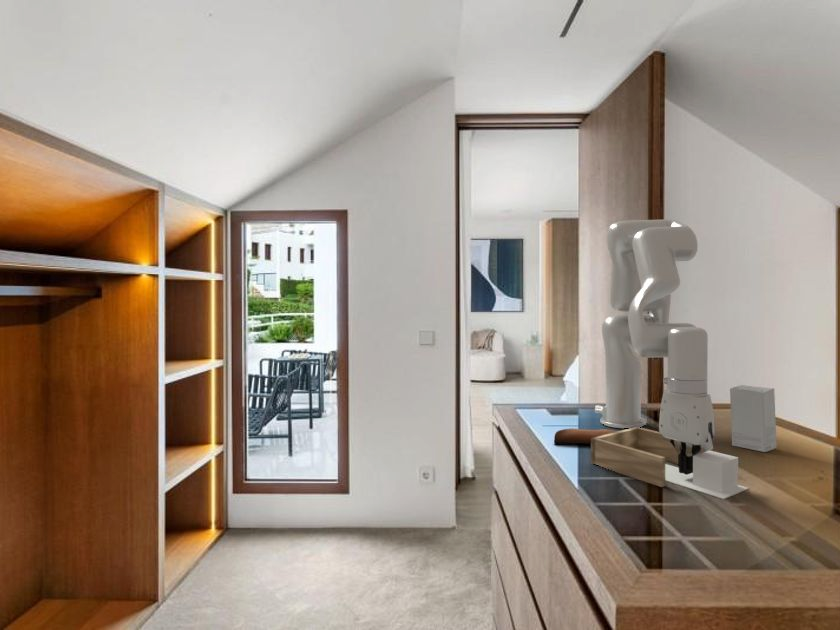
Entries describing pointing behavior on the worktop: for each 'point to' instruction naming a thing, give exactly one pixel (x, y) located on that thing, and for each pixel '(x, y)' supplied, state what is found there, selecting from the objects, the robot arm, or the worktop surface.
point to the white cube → (715, 471)
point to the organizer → (634, 454)
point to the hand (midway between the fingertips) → (686, 472)
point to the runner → (687, 481)
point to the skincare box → (753, 418)
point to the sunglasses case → (578, 435)
